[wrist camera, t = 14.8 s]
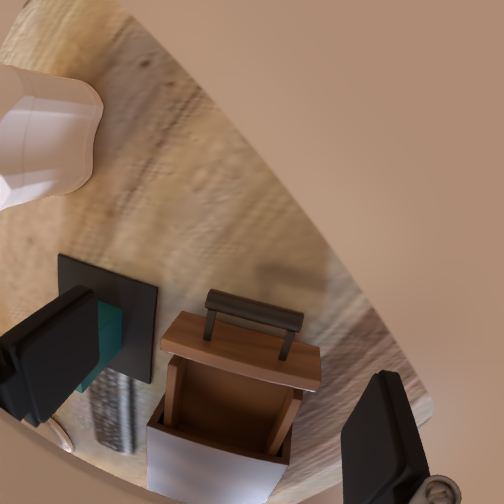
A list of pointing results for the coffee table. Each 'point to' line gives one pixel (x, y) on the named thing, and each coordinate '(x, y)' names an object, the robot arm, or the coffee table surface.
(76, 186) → the jar
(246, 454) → the cabinet
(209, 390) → the drawer
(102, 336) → the box
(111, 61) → the coffee table surface
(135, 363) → the mat
